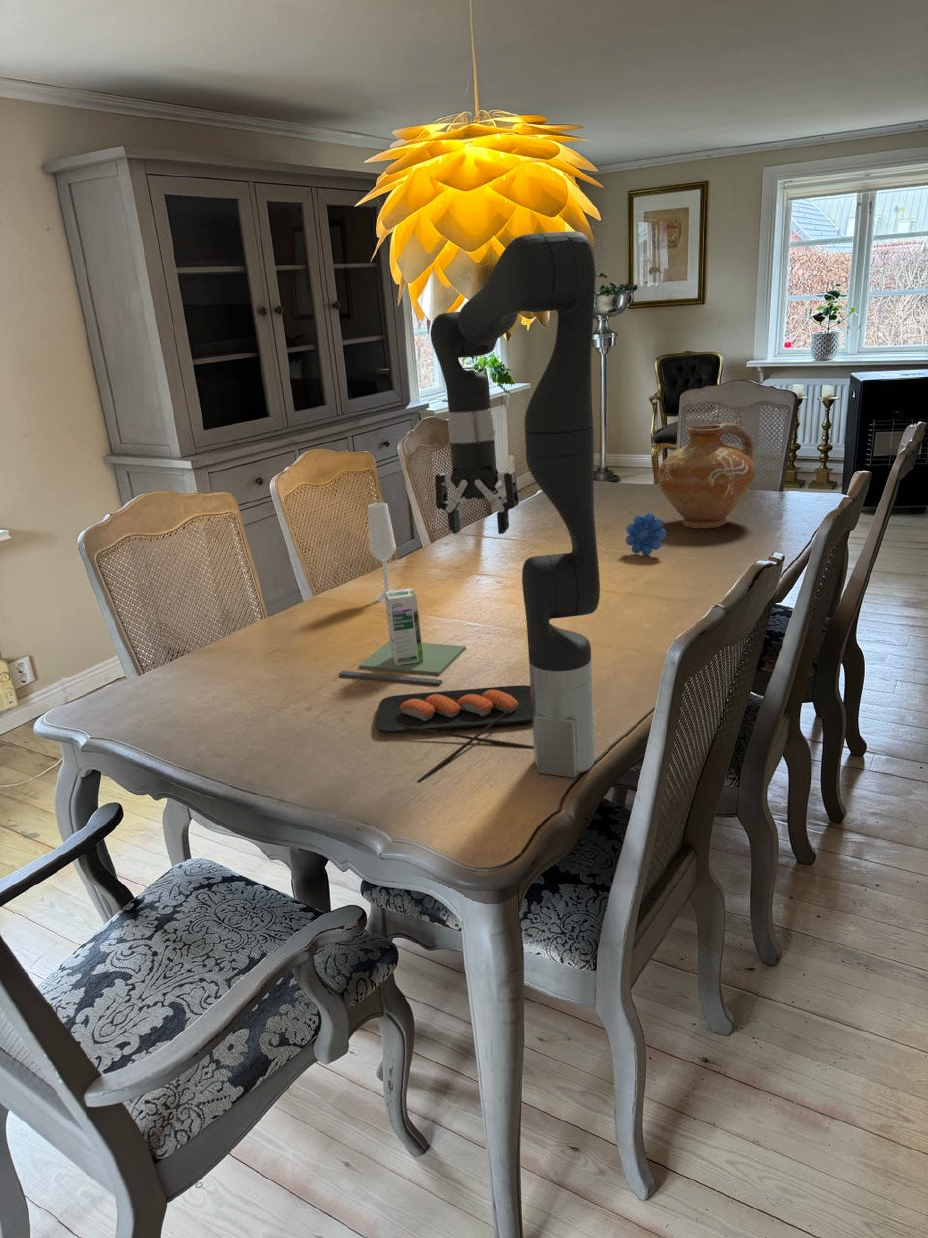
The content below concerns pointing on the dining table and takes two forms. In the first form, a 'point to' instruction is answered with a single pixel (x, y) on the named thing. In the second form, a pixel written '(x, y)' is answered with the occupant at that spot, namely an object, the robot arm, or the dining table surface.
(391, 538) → the champagne flute
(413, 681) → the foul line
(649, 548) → the blue bumpy cluster
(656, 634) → the dining table surface
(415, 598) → the syrup box
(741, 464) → the jug
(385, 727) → the sushi plate
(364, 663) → the mat
